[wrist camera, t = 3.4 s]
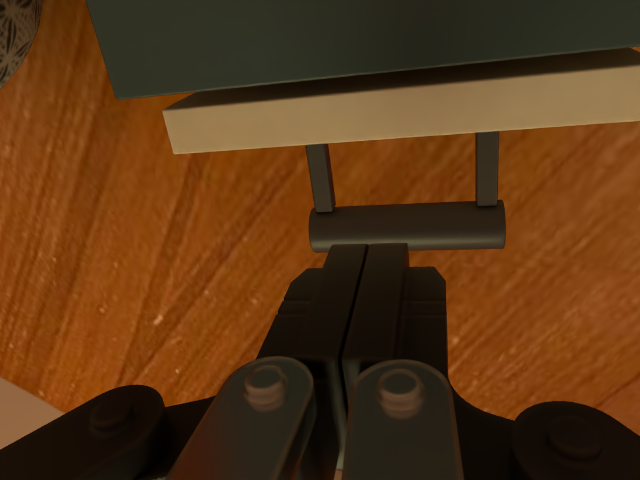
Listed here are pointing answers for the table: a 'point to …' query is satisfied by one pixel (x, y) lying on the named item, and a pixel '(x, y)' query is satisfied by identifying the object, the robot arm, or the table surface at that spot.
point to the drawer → (412, 132)
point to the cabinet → (336, 38)
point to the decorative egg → (16, 33)
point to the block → (338, 475)
